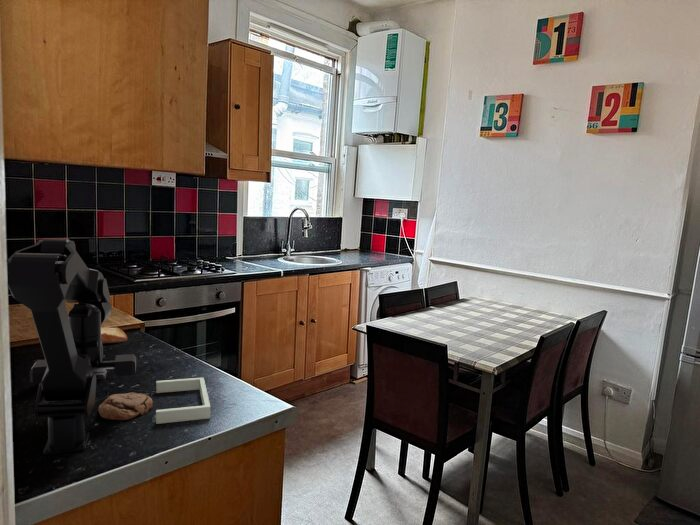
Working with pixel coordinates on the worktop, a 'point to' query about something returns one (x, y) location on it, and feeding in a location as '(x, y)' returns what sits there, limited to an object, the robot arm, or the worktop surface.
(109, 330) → the slice of bread
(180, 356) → the worktop surface
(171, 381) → the box
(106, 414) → the cookie
